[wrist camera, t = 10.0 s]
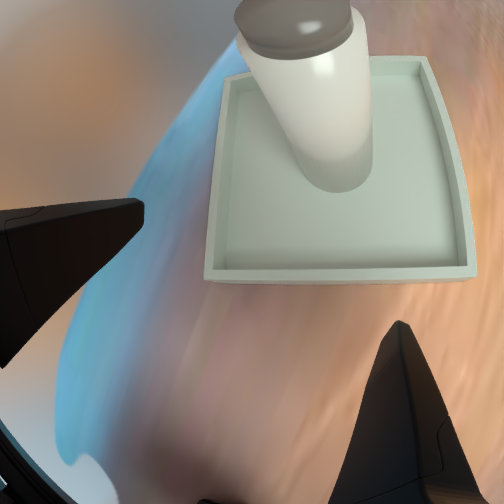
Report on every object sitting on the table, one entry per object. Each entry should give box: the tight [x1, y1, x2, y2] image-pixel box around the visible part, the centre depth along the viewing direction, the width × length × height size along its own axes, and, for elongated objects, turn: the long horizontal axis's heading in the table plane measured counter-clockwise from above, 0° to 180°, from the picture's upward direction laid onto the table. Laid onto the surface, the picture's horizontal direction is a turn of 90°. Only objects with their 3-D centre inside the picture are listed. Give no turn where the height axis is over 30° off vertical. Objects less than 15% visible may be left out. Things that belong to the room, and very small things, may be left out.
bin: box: [203, 56, 477, 285], centre depth 18 cm, size 16×16×2 cm
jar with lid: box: [234, 0, 373, 193], centre depth 13 cm, size 5×5×12 cm
